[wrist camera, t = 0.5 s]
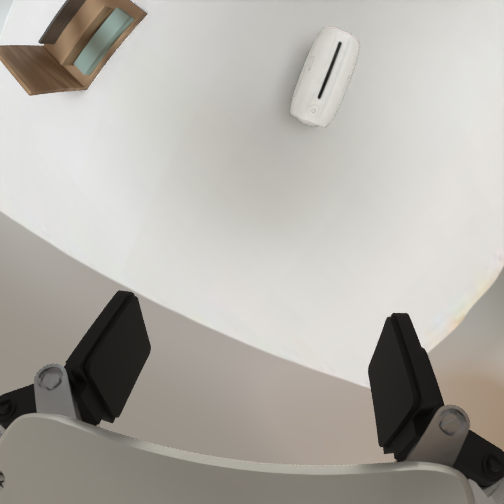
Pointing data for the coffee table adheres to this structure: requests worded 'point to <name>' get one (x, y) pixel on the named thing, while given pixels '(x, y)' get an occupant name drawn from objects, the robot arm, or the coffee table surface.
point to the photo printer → (325, 77)
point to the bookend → (61, 21)
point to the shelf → (74, 48)
